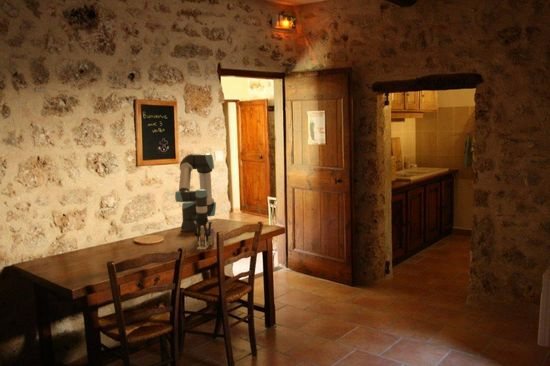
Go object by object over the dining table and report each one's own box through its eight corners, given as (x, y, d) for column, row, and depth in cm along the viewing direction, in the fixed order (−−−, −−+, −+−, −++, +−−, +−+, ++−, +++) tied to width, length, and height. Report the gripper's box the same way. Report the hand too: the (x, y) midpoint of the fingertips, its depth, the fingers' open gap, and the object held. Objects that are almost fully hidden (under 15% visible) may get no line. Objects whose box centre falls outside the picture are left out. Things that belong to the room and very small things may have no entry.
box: (214, 243, 359) (213, 227, 357) (212, 245, 353) (211, 228, 352) (199, 243, 360) (199, 227, 359) (197, 245, 354) (197, 228, 353)
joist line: (205, 240, 367) (205, 239, 367) (213, 241, 366) (213, 239, 366) (197, 249, 344) (197, 248, 344) (205, 249, 343) (205, 248, 343)
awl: (200, 246, 347) (199, 234, 345) (201, 245, 350) (200, 232, 349) (205, 246, 346) (204, 234, 345) (206, 245, 350) (205, 232, 348)
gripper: (188, 213, 342) (190, 247, 345) (212, 213, 341) (213, 247, 343) (191, 211, 350) (192, 244, 353) (214, 211, 348) (216, 244, 351)
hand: (203, 245), depth 348 cm, fingers closed on awl, 3 cm apart
